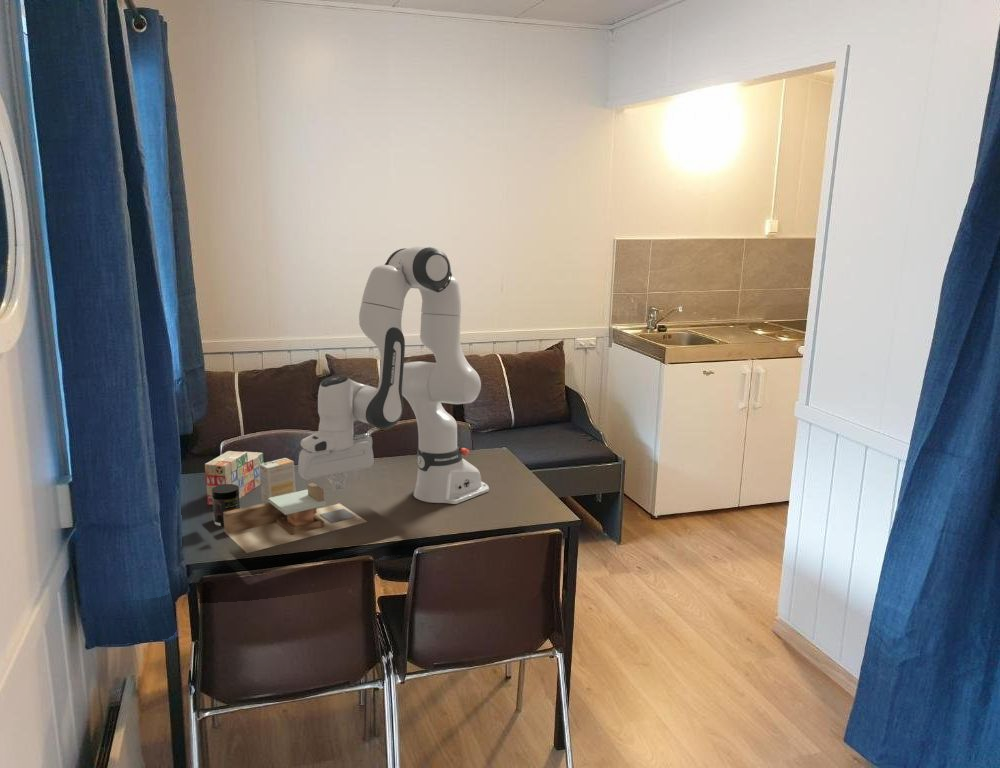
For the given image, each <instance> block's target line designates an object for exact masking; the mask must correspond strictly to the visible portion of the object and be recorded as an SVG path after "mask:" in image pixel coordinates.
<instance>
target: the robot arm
mask: <svg viewBox="0 0 1000 768" xmlns="http://www.w3.org/2000/svg"><path fill="white" fill-rule="evenodd" d="M410 289H418V290H419V292H420V295H421V309H420V310H421V311H420V312H421V313H420V333H419V335H420V337H419V338H420V341H421V343H422V345H423V346H424V347H426V348H427V349H428V350H430V351H431V353H432V354H433V356H434V358H435V362H428V361H419V360H418V361H410V362H405V349H406V345H405V344H406V343H405V340H406V339H405V337H404V333H403V327H402V317H403V312H404V305H405V299H406V296H407V294H408V292H409V291H410ZM460 290H461V289H460V284H459V281H458V280H457V279H456V278H455V277H453V274H452V269H451V264H450V260H449V258H448V256H447V255H446V253H444V252H443V251H442V250H440V249H438V248H435V247H431V246H429V247H425V246H424V247H423V246H413V247H410V248H399V249H397V250H395V251H394V252H392V253H391V254H390V255H389V257H388V258H387V260H386V261H385V263H384V264H380V265H377V266H375V267H374V268H373V269H372V270H371V272H370V273H369V276H368V279H367V282H366V284H365V287H364V291H363V295H362V299H361V303H360V308H359V313H358V322H359V327H360V329H361V331H362V333H364V335H365V336H366V337H367V338H368V339H369V340H370V341H371V342H373V344H374V345H375V346H376V348H377V350H378V351H379V356H380V365H379V366H380V368H379V377H378V379H379V380H378V387H374V386H371V385H368V384H363V383H360V382H357V381H355V380H352V379H351V378H349V376H347V375H342V374H341V375H340V374H339V375H332V376H331V375H330V376H328V377H325V378H324V379H323V380H322V381H321V382H320V384H319V386H318V394H317V413H318V416H319V423H318V431H315V432H314V433H311V435H309V436H306V437H304V438H302V439H301V440H300V446H301V448H303V449H301V450H300V451H299V455H298V461H297V462H298V464H297V465H298V466H297V468H298V469H297V470H298V476H300V477H301V478H302V479H304V480H305V481H309V480H314V479H319V478H324V477H326V478H327V480H328V481H329V482H330V488H331V490H332V491H337V490H343V489H345V482H346V480H347V479H348V476H349V472H354V471H360V470H364V469H365V470H366V469H369V468H370V469H371V468H372V467H373V465H374V463H375V458H374V451H373V437H372V435H370V434H367V433H361V434H354V422H356V421H359V422H362V423H363V424H367V425H368V424H369V425H370V426H372V427H374V428H377V429H379V430H389V429H391V428H393V427H394V426H395V425H396V424H397V423H398V422H399V421H400V419H401V417H402V416H403V411H404V401H403V400H404V399H403V398H405V400H406V401H407V402H408V404H409V406H410V407H411V409H412V411H413V413H414V415H415V419H416V424H417V433H418V435H417V436H418V447H417V448H416V449H417V451H416V452H417V454H416V456H417V457H416V460H417V461H416V462H417V478H416V483H415V487H414V492H413V496H414V498H415V499H416V500H419V501H421V502H425V503H433V504H434V503H436V504H441V503H442V504H451V505H458V504H460V503H462V502H464V501H467V500H469V499H473V498H475V497H477V496H479V495H482V494H486V493H488V492H489V491H490V488H489V485H488V484H487V483H486V482H484V481H482V476H481V473H480V470H479V469H478V468H477V467H476V466H475V465H473V464H471V463H470V462H468V461H467V460H466V459H464V458H463V456H468V455H469V453H470V450H469V449H468V448H466V447H462V448H461V446H458V424H457V421H456V419H455V418H454V417H453V416H452V414H450V413H448V412H447V411H446V410H445V408H444V407H443V405H442V403H443V404H451V405H463V404H464V405H465V404H472V403H473V402H475V400H476V399H477V398H478V397H479V394H480V392H481V389H482V381H481V377H480V375H479V374H478V372H477V371H476V369H474V368H473V367H472V365H471V364H469V362H468V360H467V358H466V357H465V354H464V351H463V348H462V344H461V343H462V341H461V316H462V313H461V312H462V306H461V305H462V303H461V291H460ZM338 474H339V475H340V477H339V480H338V481H335V480H334V479H336V475H338Z"/></svg>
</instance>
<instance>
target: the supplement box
mask: <svg viewBox="0 0 1000 768" xmlns="http://www.w3.org/2000/svg"><path fill="white" fill-rule="evenodd" d="M259 467H260V481H261V484H260V492H261V504H262V503H267V502H268V498H271V497H276V496H280V495H285V494H289V493H294V492H297V491H296V478H295V477H296V475H295V474H296V473H295V462H294V460H291V458H290V459H289V458H287V457H283V458H279V459H275V460H271V461H266V462H264V463H262V464H259Z"/></svg>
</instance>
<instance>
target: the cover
mask: <svg viewBox="0 0 1000 768" xmlns="http://www.w3.org/2000/svg"><path fill="white" fill-rule="evenodd" d="M324 499H325V498H324V489H323V488H322V487H320V486H319V485H317V484H315V483H314V482H311V483H307V489H304V490H303V489H302V490H299V491H296V492H294V493H289V494H285V495H280V496H276V497H271V498H268V502H269V503H271V504H272V505H273V506H274V507H276V508H277V509H278V510H280V511H281V512H282V513H284V514H285V515H287V514H291V513H296V512H300V511H304V510H308V509H313V508H316V509H318V508H322V507H326V506H327V501H326V499H325V500H324Z"/></svg>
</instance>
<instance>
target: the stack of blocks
mask: <svg viewBox="0 0 1000 768" xmlns="http://www.w3.org/2000/svg"><path fill="white" fill-rule="evenodd" d="M262 463H265V462H264V453H263V452H257V451H255V452H254V451H234V450H233V451H232V450H227V451H225V452H224V453H222V454H220V455H219V456H217V457H215V458H213V459H212V460H210V461H208V462H206V463H204V472H205V473H204V474H205V476H204V478H205V485H206V500H207V501H206V503H207V505H208V506H213V502H212V488H213V487H215V486H218V485H223V484H234V485H238V486H239V498H240V499H242V498H243V497H244V496H246V495H247V494H249V493H250V492H251V491H252V489H253V490H254V489H255V488H257V487H259V486H261V481H260V467H259V464H262ZM248 492H249V493H248ZM246 493H247V494H246ZM245 494H246V495H245ZM242 496H243V497H242ZM241 497H242V498H241Z"/></svg>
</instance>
